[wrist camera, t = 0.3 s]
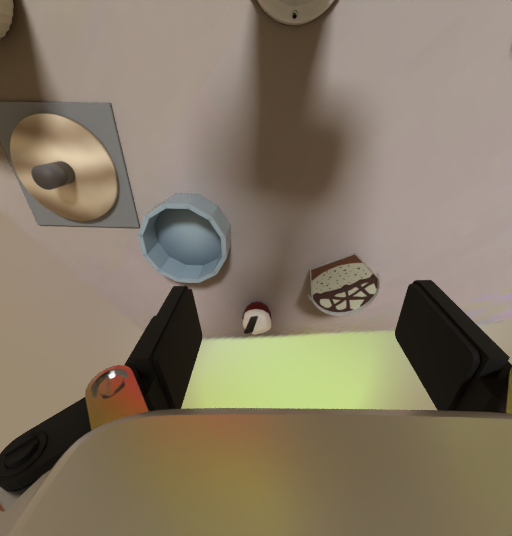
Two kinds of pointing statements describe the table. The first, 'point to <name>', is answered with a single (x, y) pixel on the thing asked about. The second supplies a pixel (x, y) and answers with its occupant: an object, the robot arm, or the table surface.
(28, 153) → the lid
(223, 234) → the bowl
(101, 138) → the mat
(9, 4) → the canister
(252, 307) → the cocoa
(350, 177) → the table surface
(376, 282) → the food container
